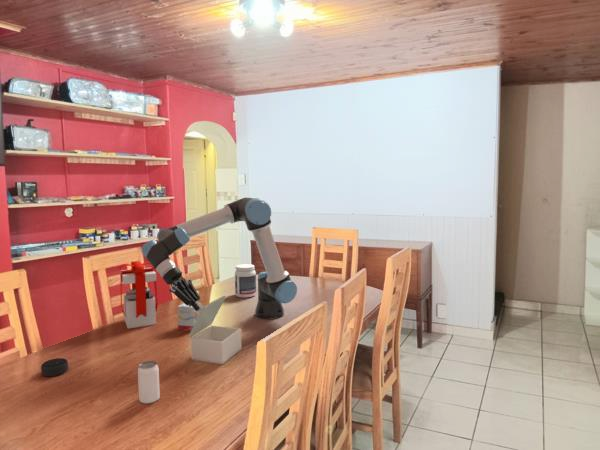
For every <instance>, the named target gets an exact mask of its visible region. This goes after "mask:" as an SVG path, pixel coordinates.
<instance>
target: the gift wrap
mask: <svg viewBox="0 0 600 450" xmlns="http://www.w3.org/2000/svg"><path fill="white" fill-rule="evenodd" d="M148 264H150V262H149V261H145V262H143V263H141V261H140V260H137V261H131V263H124V264H123V263H122V264H121V265H119V267H118V269H119V274H120V276H119V277H120V307H121V311H122V314H123V315H124V317H123V318H124V322H125V326H126V327H127V329H133V328H140V327H141V328H142V327H147V326H153V325H157V314H156V312H157V310H158V291H157V281H158V280H157V279H158V278H157V273H156V272H157V271H156V270H155V268H154V267H153V266H152V267H145V265H148ZM150 265H151V264H150ZM126 266H130V267H131V268H130V269H122V268H123V267H126ZM147 282H149V283H150V282H153V283H154V293H155V296H154V295H153V292H152V290H151V289H150V288H148V286H147V285H146V283H147ZM130 284H131V289H130V290H128V291H127V290H126V291H125V294H124V295H123V293H122V292H123V285H130ZM122 296H123V297H122ZM122 302H123V303H122Z"/></svg>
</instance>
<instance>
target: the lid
mask: <svg viewBox="0 0 600 450" xmlns="http://www.w3.org/2000/svg"><path fill="white" fill-rule="evenodd" d="M225 299H226V295H223V296H221V297H219V298H217V299H215V300H212V301H211V302H209V303H208V304H206V305H203V308H202V310H201V312H200V314H199V316H198V318H197V320H196V322H195V324H194V326H193V328H192V330H191V331H189V334H188V337H189V338H192V337H194V336H195V335H197V334H199V333H200V332H202V331H204V330H205V329H207V328H208V327H210V326H212V325H213V323H214V321H215V319H216V317H217V315H218V313H219V311H220V310H221V307H222V305H223V303H224V301H225Z"/></svg>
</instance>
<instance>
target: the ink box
mask: <svg viewBox="0 0 600 450" xmlns="http://www.w3.org/2000/svg"><path fill="white" fill-rule="evenodd" d="M198 316H199V314H198V312H197V311H196V310H195V309H194V308H193V307H192V306H191V307H189V305H188V306H187V305H186V304H185V303H183V302H182V303H181V304H179V305H178V306H177V330H178V331H181V332H182V331H184V332H191V330H192V328H193V326H194V324H195V322H196V320H197V318H198Z"/></svg>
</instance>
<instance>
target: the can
mask: <svg viewBox="0 0 600 450" xmlns="http://www.w3.org/2000/svg"><path fill="white" fill-rule="evenodd" d="M159 371H160V369H159V365H158V362H157V361H154V360H146V361H143V362H141V363H140V364H138V369H137V380H138V381H137V383H138V386H137V387H138V401H139V402H140V403H142V404H145V405H146V404H147V405H148V404H153V403H156V402H157V401H158V400H159V399H160V396H161V395H160V392H161V391H160V375H159V374H160V372H159Z"/></svg>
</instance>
